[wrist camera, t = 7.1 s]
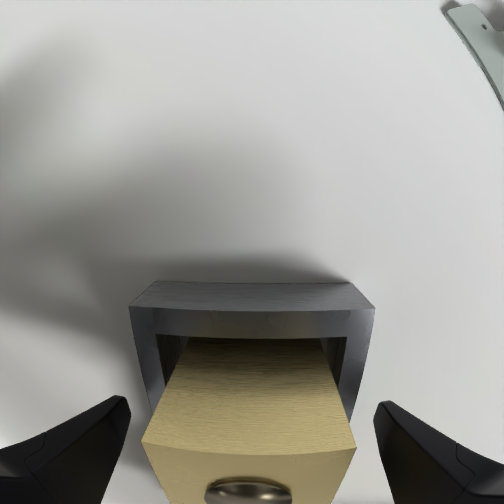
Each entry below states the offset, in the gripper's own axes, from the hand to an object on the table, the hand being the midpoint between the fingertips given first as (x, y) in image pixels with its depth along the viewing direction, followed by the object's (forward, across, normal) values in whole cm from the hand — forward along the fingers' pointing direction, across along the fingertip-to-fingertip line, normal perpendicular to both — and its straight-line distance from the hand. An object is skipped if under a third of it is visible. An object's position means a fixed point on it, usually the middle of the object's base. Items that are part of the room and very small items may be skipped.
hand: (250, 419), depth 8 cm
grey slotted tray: (+3, 0, +5) cm, 6 cm away
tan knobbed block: (+3, 0, 0) cm, 3 cm away
